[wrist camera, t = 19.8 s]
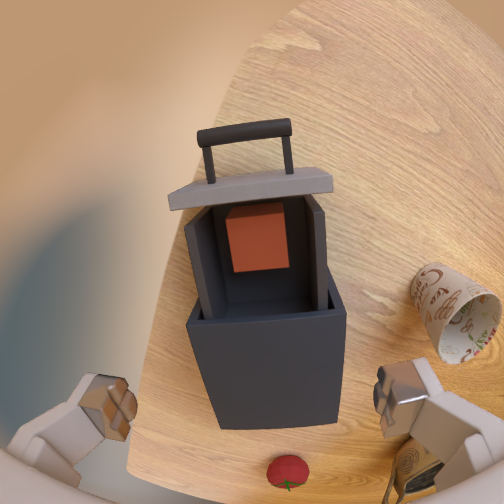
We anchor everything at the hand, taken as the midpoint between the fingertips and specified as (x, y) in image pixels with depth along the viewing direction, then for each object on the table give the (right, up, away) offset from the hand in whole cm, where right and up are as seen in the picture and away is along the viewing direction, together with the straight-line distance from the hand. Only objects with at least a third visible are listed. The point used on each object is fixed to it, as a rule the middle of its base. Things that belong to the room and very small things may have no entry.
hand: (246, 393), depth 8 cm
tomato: (+7, -35, +36) cm, 51 cm away
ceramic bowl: (+35, -33, +34) cm, 59 cm away
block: (+1, +6, +19) cm, 20 cm away
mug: (+23, -1, +22) cm, 32 cm away
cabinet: (+3, -4, +25) cm, 25 cm away
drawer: (+1, +7, +20) cm, 21 cm away
